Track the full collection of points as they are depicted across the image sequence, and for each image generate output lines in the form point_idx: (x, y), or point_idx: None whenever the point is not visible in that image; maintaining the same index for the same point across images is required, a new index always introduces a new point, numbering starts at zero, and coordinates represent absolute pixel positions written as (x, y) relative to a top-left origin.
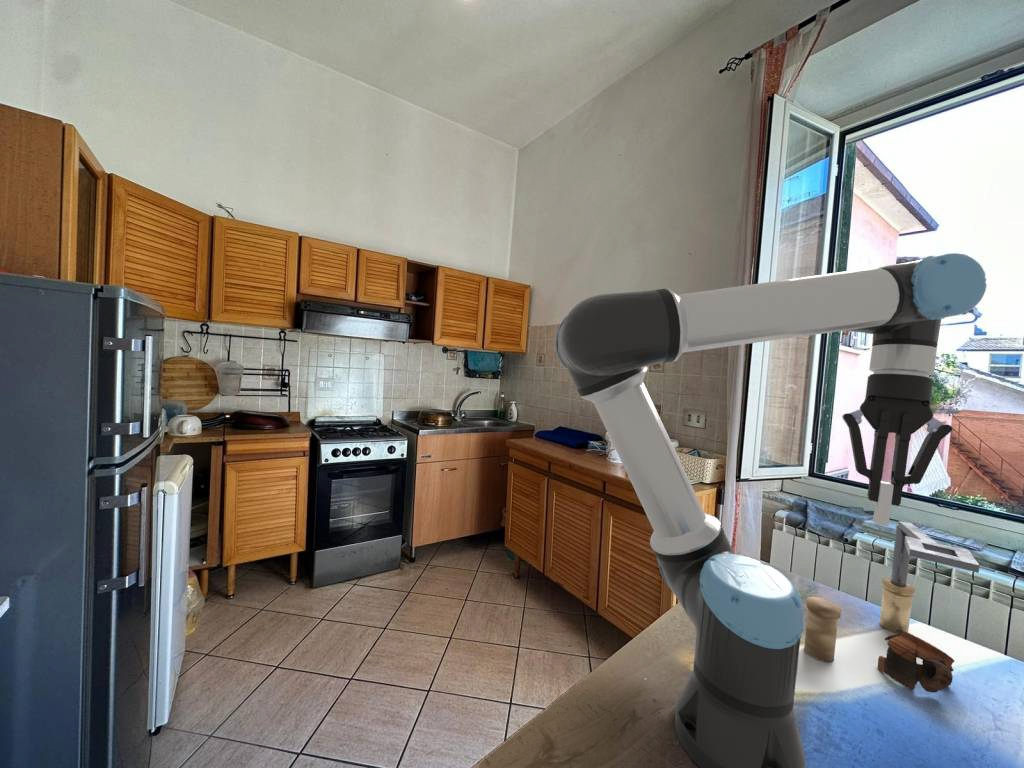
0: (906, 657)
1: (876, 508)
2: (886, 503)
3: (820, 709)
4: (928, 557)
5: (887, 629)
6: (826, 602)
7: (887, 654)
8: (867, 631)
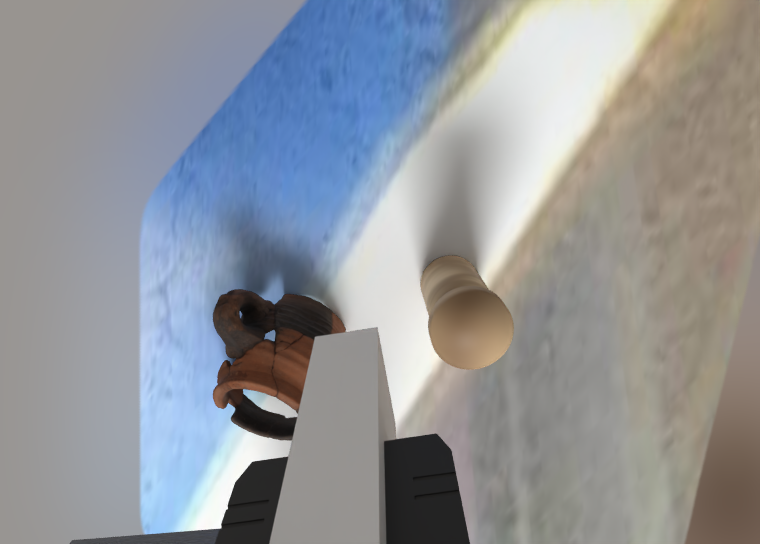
0: (292, 332)
1: (386, 422)
2: (325, 422)
3: (425, 56)
4: (207, 539)
5: None
6: (466, 351)
7: None
8: None
